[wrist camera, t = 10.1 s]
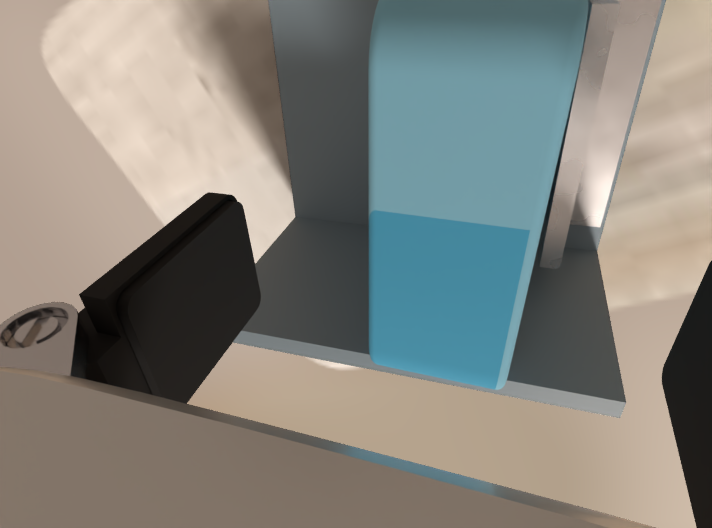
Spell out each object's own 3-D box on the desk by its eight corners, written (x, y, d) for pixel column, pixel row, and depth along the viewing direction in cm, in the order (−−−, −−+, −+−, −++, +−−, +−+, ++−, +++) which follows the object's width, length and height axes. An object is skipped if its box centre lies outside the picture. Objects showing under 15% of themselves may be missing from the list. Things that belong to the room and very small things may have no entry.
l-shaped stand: (674, -66, 18) (811, -68, 9) (590, 249, 26) (619, 417, 17) (276, -47, 23) (102, -36, 14) (306, 217, 30) (208, 337, 21)
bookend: (662, -11, 18) (693, 2, 14) (599, 224, 24) (610, 275, 20) (582, -10, 19) (592, 3, 15) (539, 218, 24) (539, 266, 21)
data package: (448, -38, 20) (365, -13, 10) (566, -39, 18) (599, -11, 9) (427, 221, 26) (366, 383, 17) (513, 233, 25) (500, 413, 16)
